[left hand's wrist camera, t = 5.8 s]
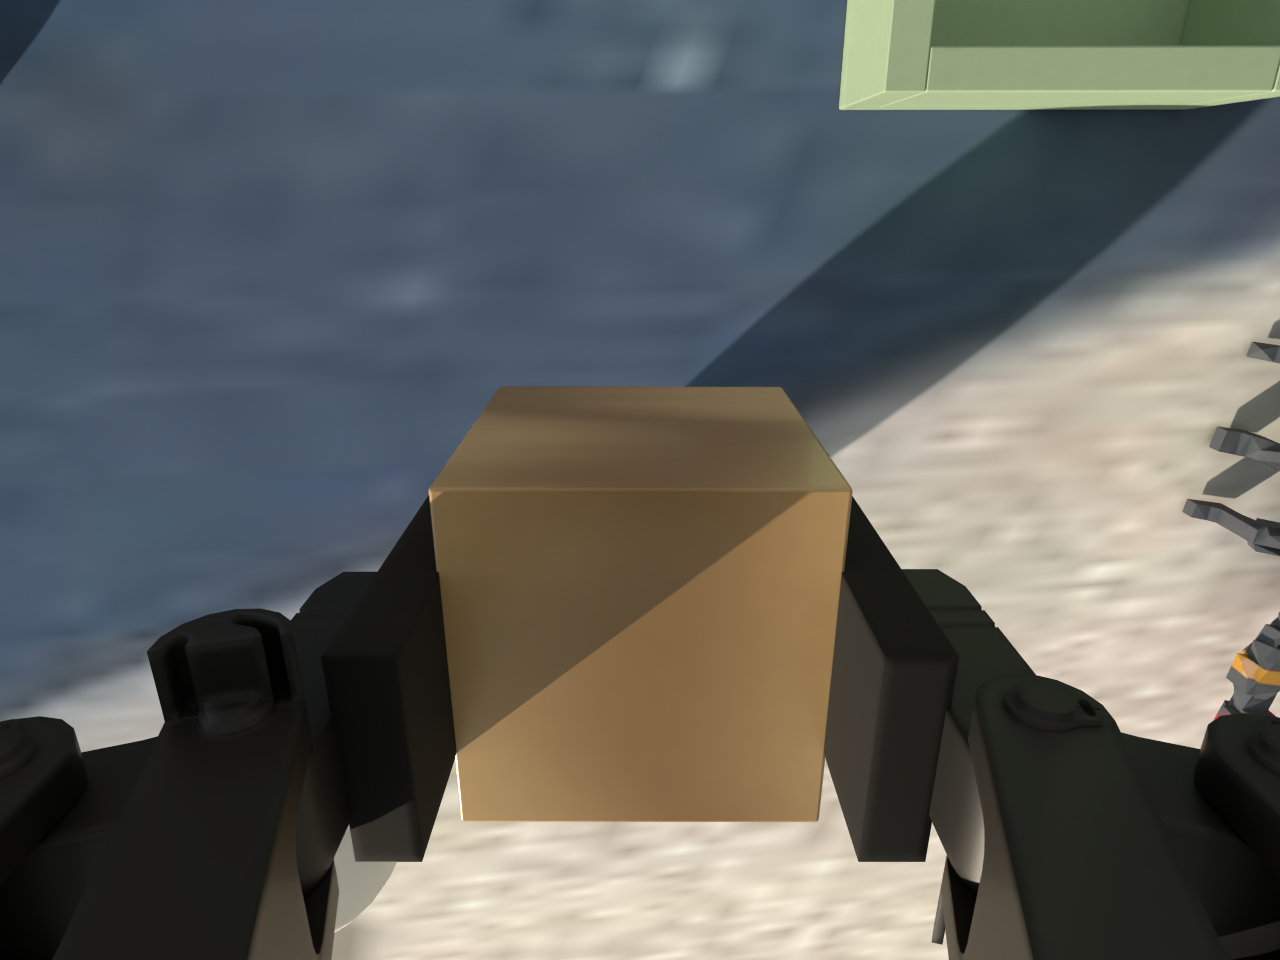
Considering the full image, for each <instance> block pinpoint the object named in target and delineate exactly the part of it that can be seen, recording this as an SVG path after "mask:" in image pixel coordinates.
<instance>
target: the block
mask: <svg viewBox="0 0 1280 960" xmlns="http://www.w3.org/2000/svg"><path fill="white" fill-rule="evenodd" d="M852 492H853V491H852V488H851V487H850V485H849V484H848V482H847V481H846V479H845V478H844V477H843V475H842V474H841V472H840V471H839V469H838V468H837V467H836V465H835V464H834V462H833V461H832V459H831V458H830V456H829V455H828V454H827V452H826V451H825V449H824V448H823V446H822V445H821V443H820V442H819V441H818V439H817V438H816V436H815V435H814V433H813V432H812V431H811V429H810V428H809V426H808V425H807V423H806V422H805V420H804V419H803V418H802V416H801V415H800V413H799V412H798V410H797V409H796V407H795V406H794V405H793V403H792V402H791V400H790V399H789V397H788V396H787V395H786V393H785V392H784V390H783V389H782V388H781V387H499V388H498V390H497V391H496V393H495V394H494V395H493V397H492V398H491V400H490V401H489V403H488V404H487V406H486V407H485V408H484V410H483V411H482V413H481V414H480V416H479V417H478V418H477V420H476V421H475V423H474V424H473V426H472V427H471V429H470V430H469V431H468V433H467V434H466V436H465V437H464V439H463V440H462V442H461V443H460V444H459V446H458V447H457V449H456V450H455V452H454V453H453V455H452V456H451V457H450V459H449V460H448V462H447V463H446V465H445V466H444V467H443V469H442V470H441V472H440V473H439V475H438V476H437V478H436V479H435V480H434V482H433V483H432V485H431V486H430V488H429V499H430V510H431V520H432V530H433V540H434V550H435V560H436V570H437V572H439V579H440V589H441V599H442V609H443V619H444V630H445V640H446V650H447V660H448V670H449V680H450V690H451V700H452V710H453V720H454V730H455V740H456V750H457V754H456V757H455V763H456V774H457V784H458V794H459V804H460V814H461V819H462V821H595V822H816V821H818V819H819V812H820V803H821V793H822V783H823V774H824V764H825V755H824V746H825V736H826V726H827V716H828V706H829V696H830V686H831V676H832V666H833V656H834V646H835V636H836V626H837V616H838V606H839V596H840V586H841V576H842V572H844V570H845V560H846V550H847V541H848V531H849V521H850V511H851V502H852Z"/></svg>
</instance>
